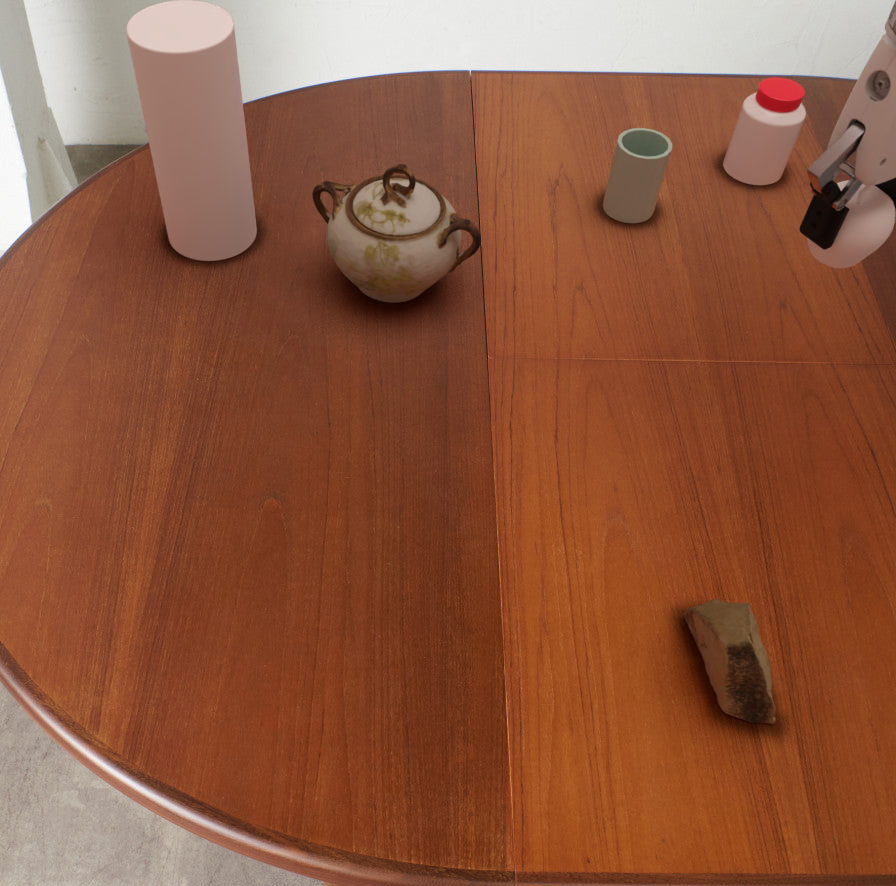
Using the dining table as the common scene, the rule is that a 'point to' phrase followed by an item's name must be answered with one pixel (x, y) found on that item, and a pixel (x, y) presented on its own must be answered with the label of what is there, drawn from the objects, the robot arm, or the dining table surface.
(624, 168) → the cup
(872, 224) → the apple
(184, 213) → the tall pillar cylinder
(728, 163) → the pill bottle
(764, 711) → the rock
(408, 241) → the sugar bowl
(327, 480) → the dining table surface
